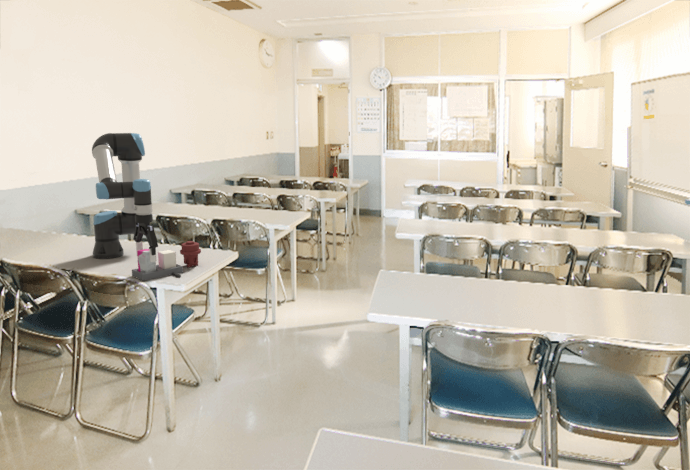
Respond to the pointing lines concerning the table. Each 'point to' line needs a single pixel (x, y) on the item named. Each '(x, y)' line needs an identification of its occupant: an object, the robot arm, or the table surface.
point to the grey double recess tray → (161, 267)
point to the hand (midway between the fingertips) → (146, 258)
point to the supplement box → (145, 261)
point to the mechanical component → (190, 253)
